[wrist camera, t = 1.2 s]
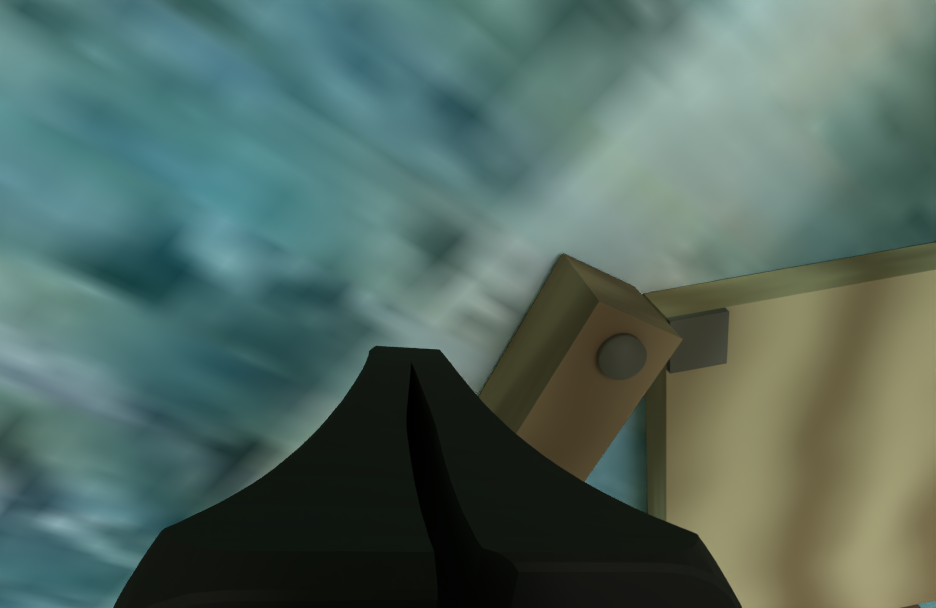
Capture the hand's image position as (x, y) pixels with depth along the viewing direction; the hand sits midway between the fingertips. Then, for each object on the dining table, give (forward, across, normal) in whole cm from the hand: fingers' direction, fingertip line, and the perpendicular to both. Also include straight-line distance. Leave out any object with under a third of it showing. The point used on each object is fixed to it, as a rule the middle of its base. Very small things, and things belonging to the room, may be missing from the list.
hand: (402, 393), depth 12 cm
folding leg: (+9, -5, +5) cm, 12 cm away
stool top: (+9, -18, +9) cm, 22 cm away
